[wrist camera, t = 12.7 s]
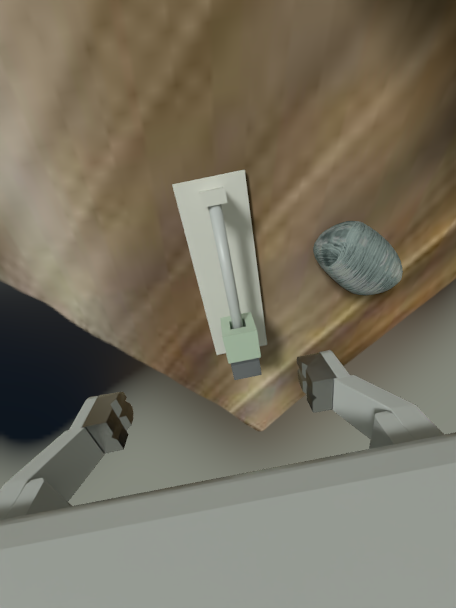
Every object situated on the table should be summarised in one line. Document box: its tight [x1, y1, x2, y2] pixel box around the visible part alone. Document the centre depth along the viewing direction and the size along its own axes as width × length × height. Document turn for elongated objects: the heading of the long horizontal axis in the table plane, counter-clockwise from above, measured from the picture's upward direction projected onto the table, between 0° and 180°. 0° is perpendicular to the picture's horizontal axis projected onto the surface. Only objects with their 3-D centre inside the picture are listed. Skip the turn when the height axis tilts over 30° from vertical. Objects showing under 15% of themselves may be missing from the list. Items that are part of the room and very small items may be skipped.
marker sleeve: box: [220, 312, 261, 364], centre depth 37 cm, size 5×5×5 cm
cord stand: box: [173, 170, 267, 380], centre depth 35 cm, size 10×30×10 cm, turn 10°
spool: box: [313, 221, 403, 295], centre depth 36 cm, size 14×10×10 cm
